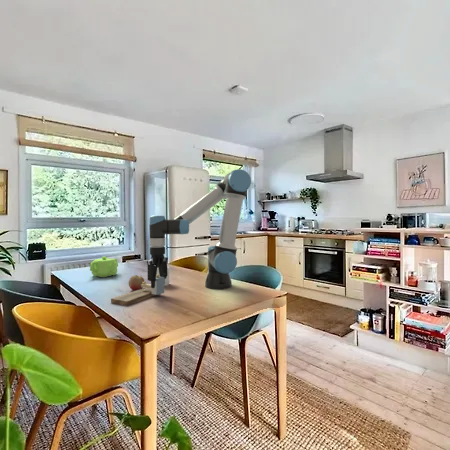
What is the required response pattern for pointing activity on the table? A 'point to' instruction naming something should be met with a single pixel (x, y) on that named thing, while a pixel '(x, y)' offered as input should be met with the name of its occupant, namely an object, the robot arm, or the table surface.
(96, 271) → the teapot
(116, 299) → the board
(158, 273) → the mug
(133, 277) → the fruit
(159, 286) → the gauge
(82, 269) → the table surface
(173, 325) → the table surface
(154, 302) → the table surface
